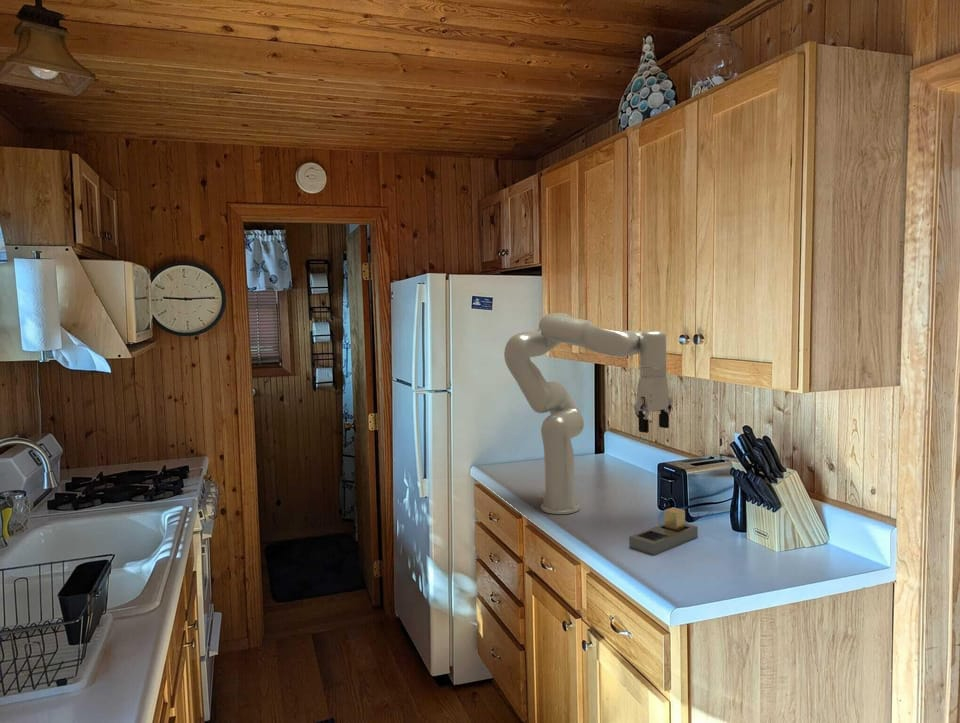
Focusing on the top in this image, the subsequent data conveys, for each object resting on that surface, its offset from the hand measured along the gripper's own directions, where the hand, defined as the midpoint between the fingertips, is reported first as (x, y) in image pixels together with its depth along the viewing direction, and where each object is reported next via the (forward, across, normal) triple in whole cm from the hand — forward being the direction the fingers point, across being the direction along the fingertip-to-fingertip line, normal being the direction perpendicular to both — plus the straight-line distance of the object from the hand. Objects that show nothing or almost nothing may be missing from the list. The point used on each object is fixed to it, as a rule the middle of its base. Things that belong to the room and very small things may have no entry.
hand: (654, 429), depth 203 cm
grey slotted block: (+28, +12, +12) cm, 33 cm away
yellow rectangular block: (+28, +7, +12) cm, 32 cm away
